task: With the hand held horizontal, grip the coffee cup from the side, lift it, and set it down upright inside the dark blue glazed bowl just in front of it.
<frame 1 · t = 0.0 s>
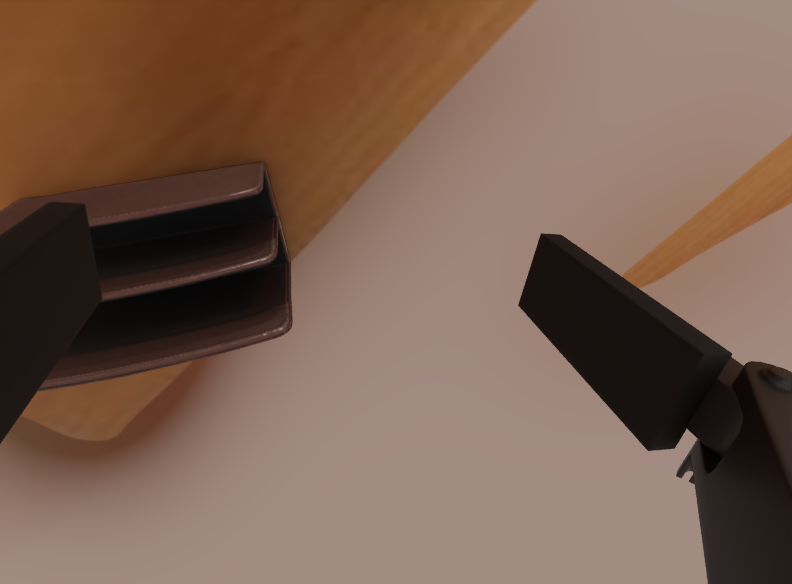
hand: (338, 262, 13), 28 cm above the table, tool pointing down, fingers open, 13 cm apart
letter holder: (167, 232, 39), on the table
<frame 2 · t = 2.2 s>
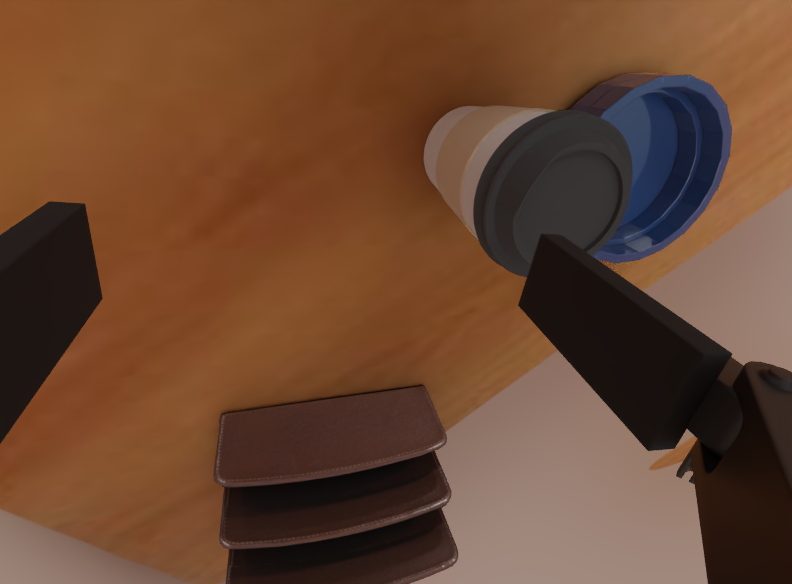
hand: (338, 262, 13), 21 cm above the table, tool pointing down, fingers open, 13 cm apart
coffee cup: (463, 152, 35), on the table
letter holder: (329, 431, 46), on the table
bowl: (611, 165, 39), on the table
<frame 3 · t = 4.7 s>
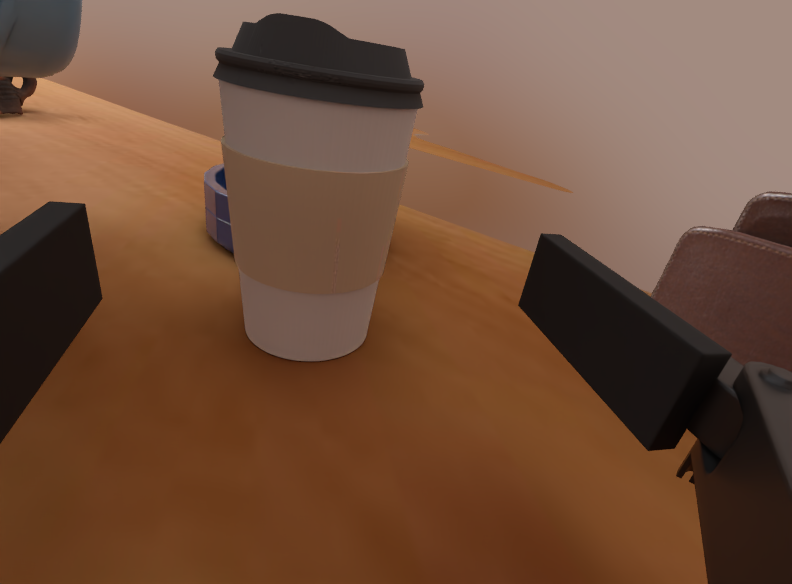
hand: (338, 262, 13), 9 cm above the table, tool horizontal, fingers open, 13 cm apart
coffee cup: (307, 328, 26), on the table
bowl: (300, 234, 37), on the table
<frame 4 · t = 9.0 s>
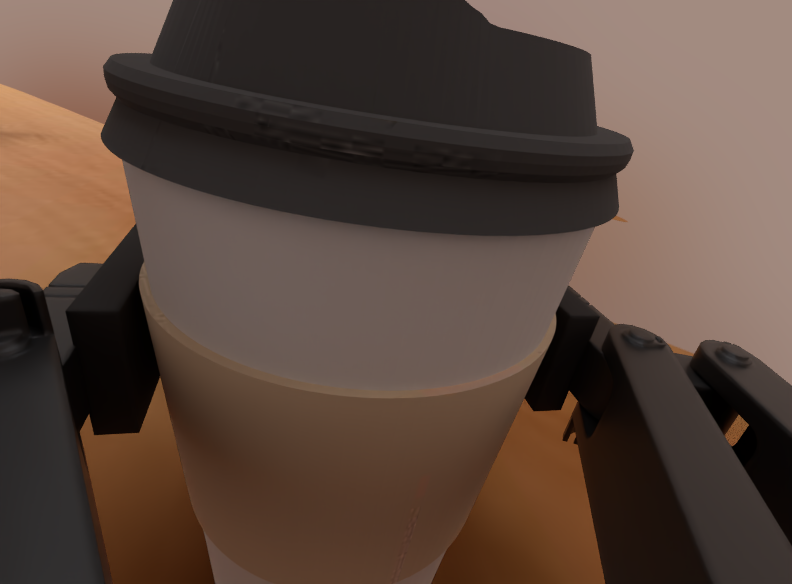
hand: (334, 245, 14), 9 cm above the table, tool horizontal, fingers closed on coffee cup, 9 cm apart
coffee cup: (327, 545, 14), on the table, touching gripper
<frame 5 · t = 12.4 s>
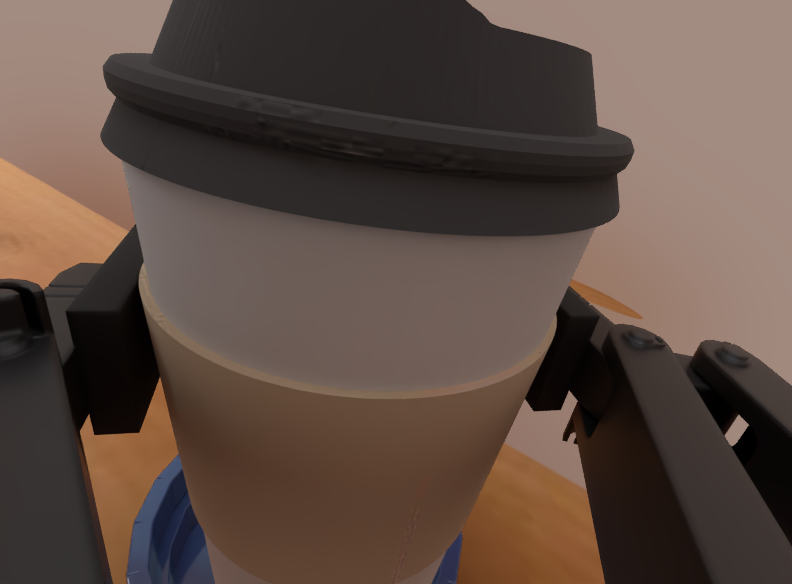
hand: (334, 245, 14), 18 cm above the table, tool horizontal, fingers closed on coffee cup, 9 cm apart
coffee cup: (327, 546, 14), point 9 cm above the table, touching gripper
bowl: (303, 563, 23), on the table
when the fingers open (9 cm above the table, at t = 16.0 s): coffee cup stays where it is, resting on bowl.
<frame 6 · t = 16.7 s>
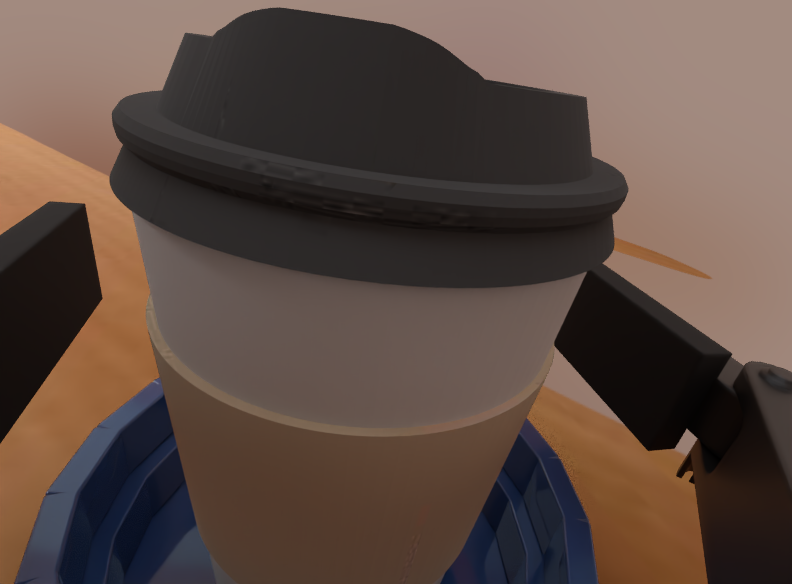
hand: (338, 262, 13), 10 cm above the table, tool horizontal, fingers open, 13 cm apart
coffee cup: (330, 560, 15), resting on bowl
bowl: (327, 564, 15), on the table
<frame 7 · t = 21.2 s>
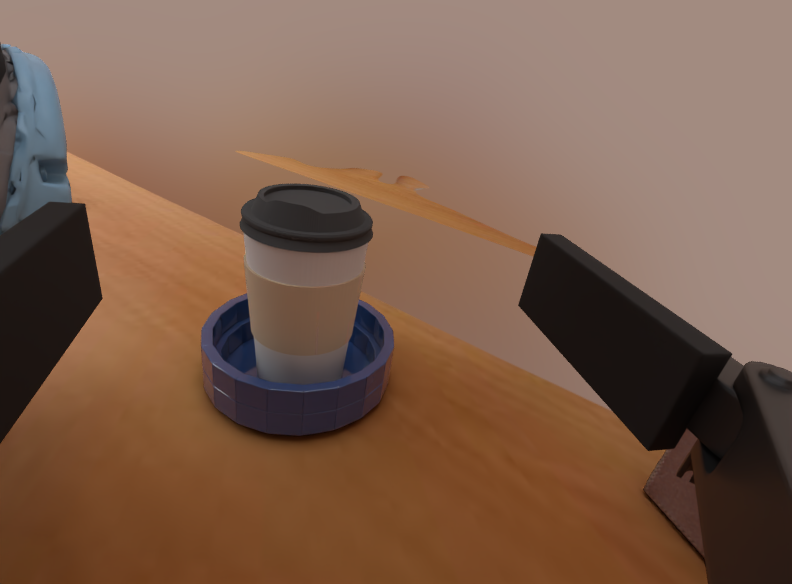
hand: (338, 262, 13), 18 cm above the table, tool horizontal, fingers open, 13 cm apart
coffee cup: (300, 371, 37), resting on bowl
bowl: (299, 374, 37), on the table
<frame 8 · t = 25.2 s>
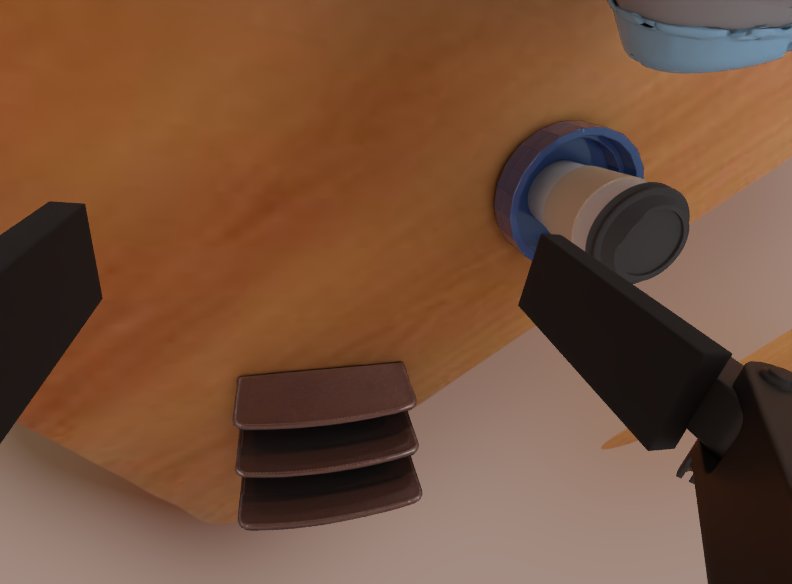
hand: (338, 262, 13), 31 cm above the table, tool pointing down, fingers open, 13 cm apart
coffee cup: (555, 191, 48), resting on bowl
letter holder: (324, 397, 56), on the table
bowl: (554, 190, 48), on the table
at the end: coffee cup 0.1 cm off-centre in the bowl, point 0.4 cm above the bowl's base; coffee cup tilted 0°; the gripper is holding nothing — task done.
